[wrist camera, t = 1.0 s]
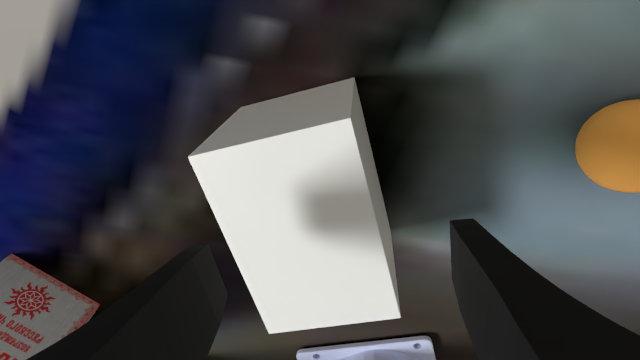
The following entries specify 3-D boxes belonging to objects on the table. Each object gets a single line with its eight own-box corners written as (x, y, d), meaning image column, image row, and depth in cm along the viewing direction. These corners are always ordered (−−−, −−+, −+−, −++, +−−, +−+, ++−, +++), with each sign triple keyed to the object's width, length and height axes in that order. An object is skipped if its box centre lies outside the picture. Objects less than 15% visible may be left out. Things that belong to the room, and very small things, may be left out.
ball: (559, 176, 19) (604, 217, 16) (558, 101, 18) (608, 129, 14) (648, 159, 18) (716, 199, 15) (655, 80, 17) (734, 103, 13)
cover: (292, 246, 23) (269, 333, 17) (241, 107, 19) (187, 156, 13) (390, 230, 22) (400, 317, 16) (354, 77, 18) (350, 117, 12)
